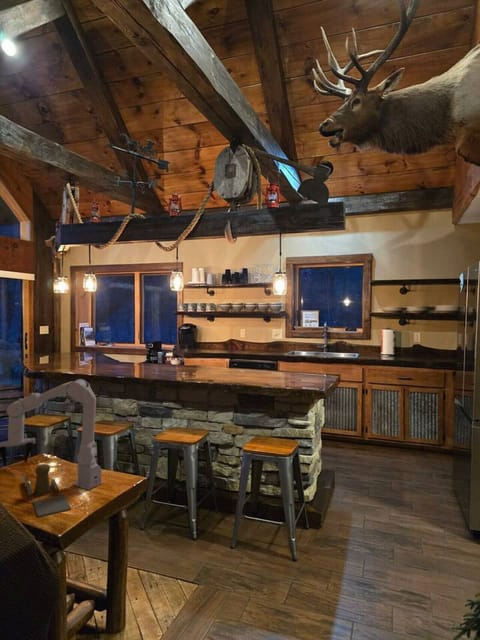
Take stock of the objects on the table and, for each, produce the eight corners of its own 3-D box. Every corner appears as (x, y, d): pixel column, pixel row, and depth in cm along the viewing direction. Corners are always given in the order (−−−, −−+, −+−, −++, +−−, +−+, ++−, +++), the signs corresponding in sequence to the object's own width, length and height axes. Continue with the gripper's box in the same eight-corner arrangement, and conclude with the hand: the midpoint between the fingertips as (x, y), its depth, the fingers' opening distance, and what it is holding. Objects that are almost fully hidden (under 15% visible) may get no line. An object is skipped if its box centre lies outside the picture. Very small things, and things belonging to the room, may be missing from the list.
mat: (71, 509, 150) (71, 508, 150) (37, 517, 144) (37, 515, 144) (64, 495, 161) (64, 494, 161) (33, 502, 155) (33, 501, 155)
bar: (34, 498, 157) (34, 492, 157) (28, 499, 156) (28, 493, 156) (28, 481, 173) (28, 475, 173) (23, 481, 172) (23, 476, 172)
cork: (38, 489, 166) (39, 462, 166) (53, 489, 166) (53, 462, 166) (30, 495, 160) (31, 467, 160) (45, 496, 160) (46, 468, 160)
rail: (59, 495, 161) (59, 489, 161) (55, 496, 160) (55, 490, 160) (54, 484, 171) (54, 478, 171) (51, 484, 170) (51, 479, 170)
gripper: (33, 425, 176) (32, 457, 176) (-6, 430, 167) (-7, 463, 167) (37, 429, 170) (36, 462, 170) (-3, 435, 161) (-5, 469, 161)
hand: (15, 463), depth 168 cm, fingers open, 7 cm apart
